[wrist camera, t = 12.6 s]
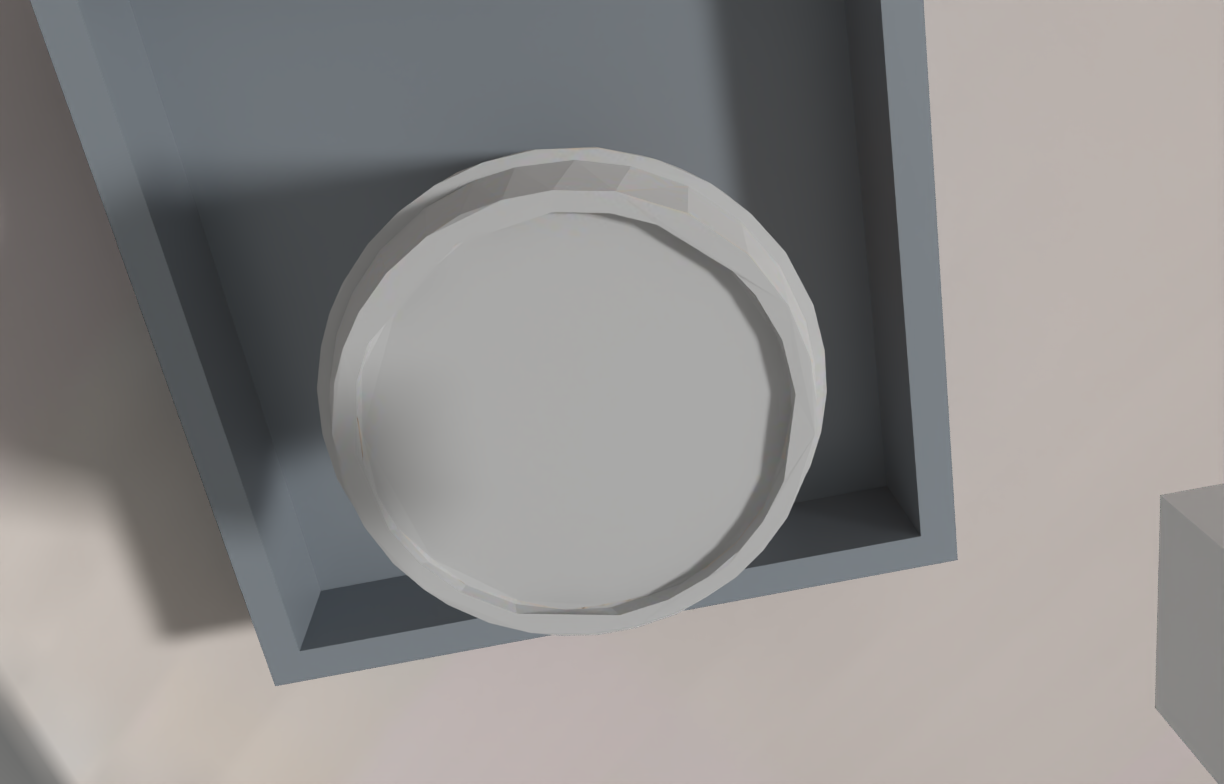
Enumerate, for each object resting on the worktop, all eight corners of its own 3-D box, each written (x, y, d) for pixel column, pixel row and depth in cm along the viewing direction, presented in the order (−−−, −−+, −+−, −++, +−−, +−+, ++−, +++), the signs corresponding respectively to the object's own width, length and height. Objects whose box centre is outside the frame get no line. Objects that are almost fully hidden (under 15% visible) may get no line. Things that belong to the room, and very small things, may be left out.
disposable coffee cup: (680, 37, 28) (768, 79, 17) (769, 362, 32) (892, 574, 20) (339, 151, 29) (207, 263, 17) (464, 457, 32) (421, 715, 21)
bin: (83, -50, 27) (11, -53, 23) (859, -197, 27) (909, -224, 23) (303, 609, 35) (274, 686, 31) (912, 496, 34) (957, 559, 31)
